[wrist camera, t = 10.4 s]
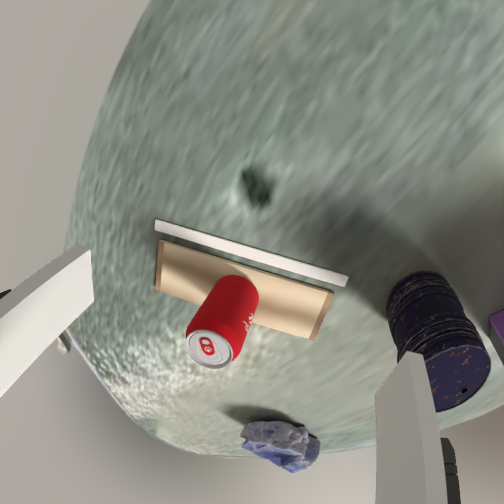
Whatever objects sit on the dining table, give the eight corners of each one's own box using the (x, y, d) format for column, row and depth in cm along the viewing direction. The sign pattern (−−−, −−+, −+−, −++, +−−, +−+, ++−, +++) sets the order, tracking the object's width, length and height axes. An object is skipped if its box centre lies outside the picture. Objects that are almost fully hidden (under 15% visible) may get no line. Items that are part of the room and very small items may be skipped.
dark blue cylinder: (370, 312, 39) (382, 397, 26) (416, 256, 35) (455, 328, 21) (420, 341, 39) (442, 421, 26) (464, 292, 35) (507, 365, 22)
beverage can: (220, 312, 44) (189, 370, 33) (210, 273, 41) (172, 326, 31) (263, 311, 42) (242, 374, 31) (256, 270, 40) (230, 327, 29)
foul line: (156, 218, 41) (155, 219, 40) (348, 276, 38) (348, 277, 38) (155, 229, 41) (154, 229, 41) (344, 286, 39) (344, 287, 38)
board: (161, 239, 42) (159, 240, 41) (333, 292, 39) (333, 294, 39) (157, 287, 45) (155, 289, 45) (314, 337, 43) (313, 340, 42)
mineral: (322, 470, 43) (286, 486, 47) (328, 433, 52) (295, 452, 56) (258, 433, 44) (226, 453, 48) (272, 396, 52) (241, 419, 56)
